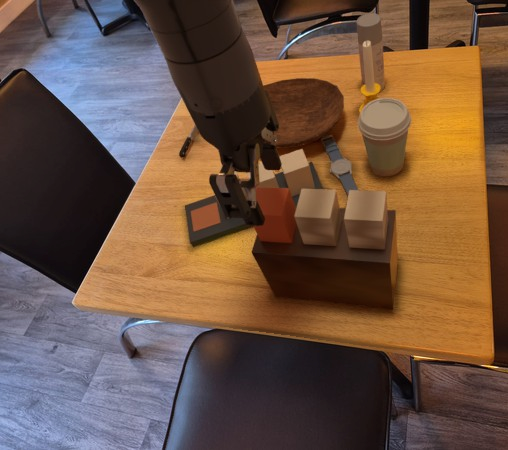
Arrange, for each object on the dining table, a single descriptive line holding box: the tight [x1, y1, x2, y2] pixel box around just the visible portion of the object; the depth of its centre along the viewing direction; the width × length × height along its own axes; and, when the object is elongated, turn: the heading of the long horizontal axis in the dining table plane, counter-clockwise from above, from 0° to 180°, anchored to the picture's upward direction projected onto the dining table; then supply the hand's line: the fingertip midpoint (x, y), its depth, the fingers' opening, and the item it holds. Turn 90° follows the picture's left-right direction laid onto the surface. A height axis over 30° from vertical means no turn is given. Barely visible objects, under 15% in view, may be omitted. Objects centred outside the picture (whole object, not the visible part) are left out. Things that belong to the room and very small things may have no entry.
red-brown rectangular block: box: [252, 187, 297, 243], centre depth 57 cm, size 4×4×6 cm
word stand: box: [250, 188, 399, 310], centre depth 60 cm, size 18×8×19 cm, turn 78°
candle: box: [358, 40, 381, 114], centre depth 83 cm, size 5×5×16 cm
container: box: [356, 12, 386, 93], centre depth 87 cm, size 5×5×15 cm
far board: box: [184, 148, 324, 248], centre depth 77 cm, size 9×25×8 cm, turn 105°
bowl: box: [263, 77, 345, 149], centre depth 88 cm, size 20×22×5 cm
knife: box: [178, 124, 199, 159], centre depth 94 cm, size 15×1×2 cm, turn 166°
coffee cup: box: [357, 97, 412, 177], centre depth 75 cm, size 8×8×12 cm
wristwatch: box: [320, 134, 359, 196], centre depth 80 cm, size 4×20×1 cm, turn 15°
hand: (265, 194), depth 53 cm, fingers open, 8 cm apart
